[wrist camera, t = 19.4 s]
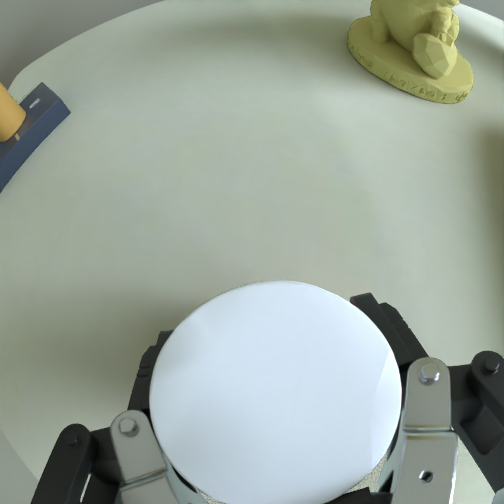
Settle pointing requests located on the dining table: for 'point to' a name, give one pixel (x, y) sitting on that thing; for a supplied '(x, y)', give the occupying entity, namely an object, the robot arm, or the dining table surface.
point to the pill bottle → (275, 395)
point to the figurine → (413, 48)
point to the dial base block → (31, 129)
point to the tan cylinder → (9, 115)
